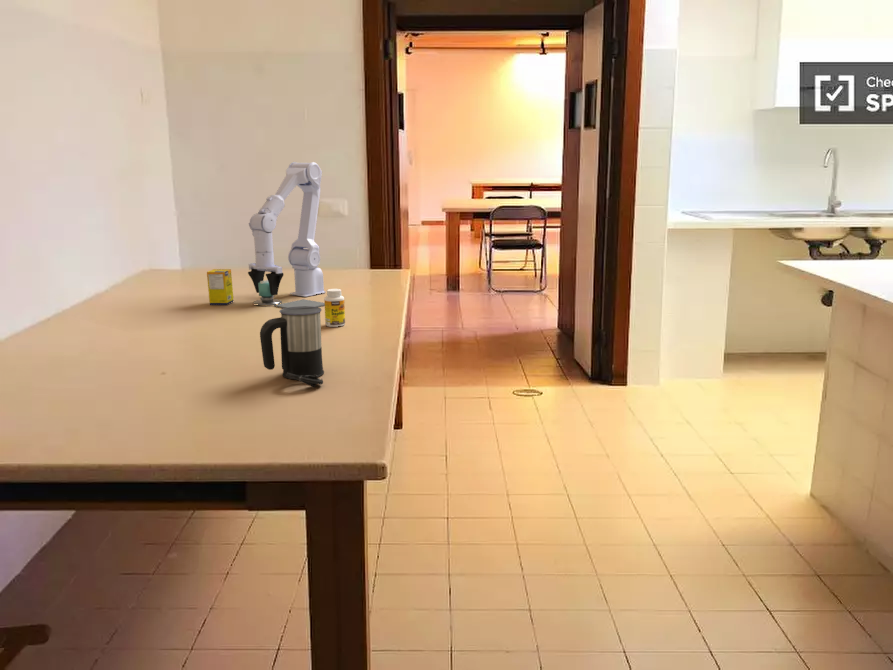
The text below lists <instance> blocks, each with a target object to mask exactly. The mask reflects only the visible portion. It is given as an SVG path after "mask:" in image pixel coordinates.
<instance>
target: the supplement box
mask: <svg viewBox="0 0 893 670" xmlns="http://www.w3.org/2000/svg"><path fill="white" fill-rule="evenodd" d="M206 277H207V287H208V288H207V289H208V299H209V305H210V306H228V305H227V304H229V303H230V304H232V303H234V302H233V301H234V299H235V298H234V288H233V277H232V269H229V268H226V269H225V268H220V269H219V268H218V269H217V268H214V269H211V270H208V271H207V272H206ZM231 302H232V303H231ZM230 304H229V305H230Z"/></svg>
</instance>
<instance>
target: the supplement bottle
mask: <svg viewBox="0 0 893 670" xmlns="http://www.w3.org/2000/svg"><path fill="white" fill-rule="evenodd" d="M323 301H324V303H325V306H324V320H325V326H327V327H328V328H329V327H330V328H339V327H338V326H341V327H344V326H345V324H346V310H345V309H346V308H345V297H344V295H342V289H340V288H329V289H327V290H326V296H325V297H324V300H323Z"/></svg>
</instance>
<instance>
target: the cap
mask: <svg viewBox="0 0 893 670" xmlns="http://www.w3.org/2000/svg"><path fill="white" fill-rule="evenodd" d="M258 286H259V293H258V296H260V297H261V296H274V295H271V293H270V286H269V282H268V279H266V280H265V279H264V280H263V281H260V282H259V283H258Z"/></svg>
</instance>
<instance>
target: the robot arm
mask: <svg viewBox="0 0 893 670" xmlns="http://www.w3.org/2000/svg"><path fill="white" fill-rule="evenodd" d="M322 175H323V171H322V169H321V167H320V165H319V164H318V163H316V162H315V161H312V162H297V161H293V162H291V163H290V164H289V165H288V167H287V168H286V169H285V176H284V179H283V180H282V182H281V183H280V186H279V187H278V189H277V190H276V192H275V194H271V195H269V196H267V197H266V200H265V201H264V203H263V205H262V206H261V207H260V208H259V209H258V212H257V213H254V214H253V215H252V216H251V217H250V219H249V223H248V226H249V229H250V230H251V232H252V233H251V234H252V236H253V242H254V254H255V255H254V256H255V262H252V263H251V262H249V263H248V270H249V271H248V272H247V275H248V276H249V277H250V279H251V280H252V283H253V286H254V289H255V292H256V294H259V286H258V283H259V282H260V281H265V279H264V278H265V276H266V280H268V282H269V286H270V293H271V295H273V296H276V295H277V296H278V293H279V288H280V283H281V281H282V279H283V277H284V272H283V266H279V265H277V264H275V253H274V240H273V231H274V230H275V229H276V226H277V221H278V217H280V216H279V215H280V214H281V213H282V211H283V210H284V208H285V207H286V203H285V200H286V199H287V198H288V197H289V195H290V194H291V193H292V192H293V191H294V190H295V188H296V187H298V188H299V189H301V191H302V192H303V196H302V205H301V209H300V210H301V213H300V218H299V219H300V221H299V226H298V227H299V229H298V233H297V238H296V240H294V242H292V243H291V247H290V250H289V252H288V257H287V259H288V263H289V265H290V266H292V267H291V268H292V269H293V270H294V271H293V272H294V274H293V275H294V292H289V295H291V294H292V295H291V296H296V297H297V296H298V297H306V298H307V297H311V296H315V295H316V294H317V295H321V293H322V294H325V293H326V294H327V291H326V290H325V286H324V285H325V284H324V282H325V281H324V273H323V270H322V268H320V267H318V266H320V263H321V254H320V246H319V245H318V244H317V242H315V237H316V230H317V229H316V228H317V222H318V213H319V206H320V198H321V190H322V188H321V182H322V177H323V176H322ZM266 272H268V273H266Z"/></svg>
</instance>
